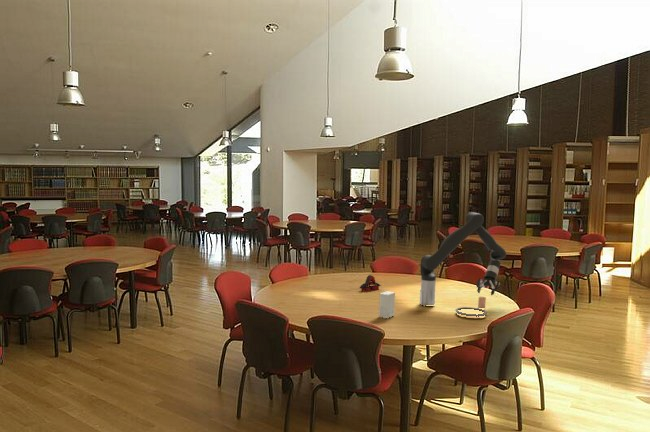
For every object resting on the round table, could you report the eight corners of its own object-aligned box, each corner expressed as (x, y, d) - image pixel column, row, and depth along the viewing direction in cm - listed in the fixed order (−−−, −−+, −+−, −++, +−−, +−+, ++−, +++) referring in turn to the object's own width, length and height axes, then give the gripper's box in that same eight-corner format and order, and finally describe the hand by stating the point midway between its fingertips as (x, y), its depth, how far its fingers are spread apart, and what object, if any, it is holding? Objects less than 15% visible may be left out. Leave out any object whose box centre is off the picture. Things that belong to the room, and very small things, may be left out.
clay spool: (479, 311, 326) (479, 298, 326) (477, 309, 331) (477, 296, 330) (485, 311, 326) (486, 298, 326) (483, 309, 331) (484, 296, 330)
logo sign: (362, 292, 372) (362, 276, 371) (359, 291, 375) (359, 276, 374) (381, 289, 382) (381, 274, 381) (378, 288, 385) (378, 273, 384)
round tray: (459, 318, 308) (459, 314, 308) (452, 310, 326) (453, 306, 326) (489, 319, 308) (490, 315, 308) (481, 311, 326) (481, 307, 325)
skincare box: (386, 314, 314) (387, 290, 313) (394, 316, 310) (395, 292, 308) (378, 317, 308) (379, 292, 306) (386, 319, 304) (387, 294, 302)
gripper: (479, 268, 342) (473, 288, 334) (501, 271, 334) (494, 292, 326) (482, 275, 347) (475, 295, 339) (503, 278, 339) (497, 298, 330)
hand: (485, 293), depth 332 cm, fingers open, 8 cm apart
